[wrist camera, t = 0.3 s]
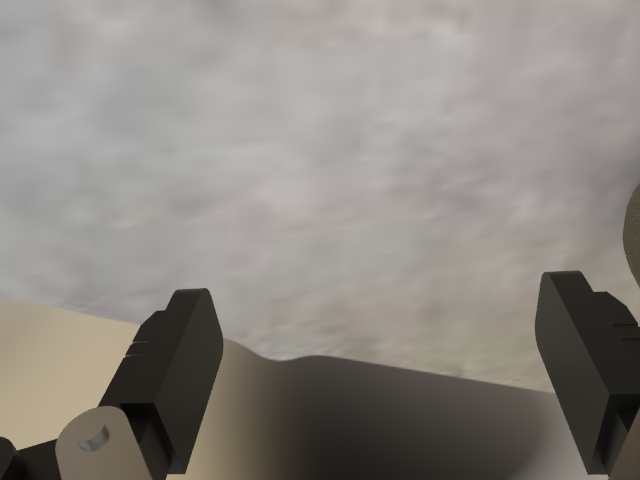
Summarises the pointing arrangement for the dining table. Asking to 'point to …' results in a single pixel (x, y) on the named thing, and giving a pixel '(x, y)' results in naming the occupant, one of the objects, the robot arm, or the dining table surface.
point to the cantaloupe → (633, 234)
